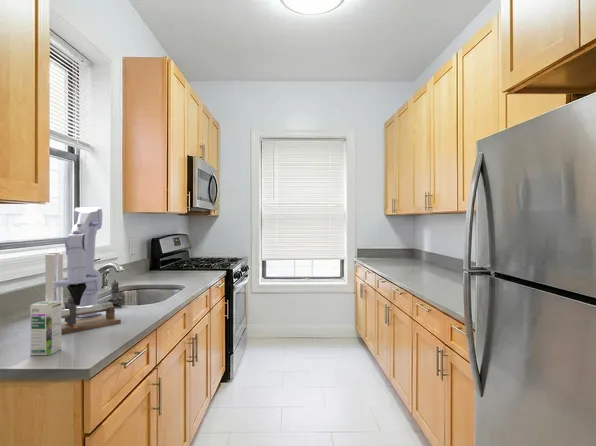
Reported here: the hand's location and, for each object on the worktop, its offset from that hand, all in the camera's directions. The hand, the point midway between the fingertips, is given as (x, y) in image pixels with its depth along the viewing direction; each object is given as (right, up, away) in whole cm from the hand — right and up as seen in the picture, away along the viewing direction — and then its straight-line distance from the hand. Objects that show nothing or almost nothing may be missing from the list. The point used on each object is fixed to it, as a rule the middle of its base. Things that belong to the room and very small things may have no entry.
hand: (76, 305), depth 138 cm
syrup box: (+7, -8, -27) cm, 29 cm away
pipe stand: (+1, -8, +1) cm, 8 cm away
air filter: (-26, -8, +29) cm, 40 cm away
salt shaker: (-3, -8, +34) cm, 35 cm away
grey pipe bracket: (-1, -6, -2) cm, 6 cm away
